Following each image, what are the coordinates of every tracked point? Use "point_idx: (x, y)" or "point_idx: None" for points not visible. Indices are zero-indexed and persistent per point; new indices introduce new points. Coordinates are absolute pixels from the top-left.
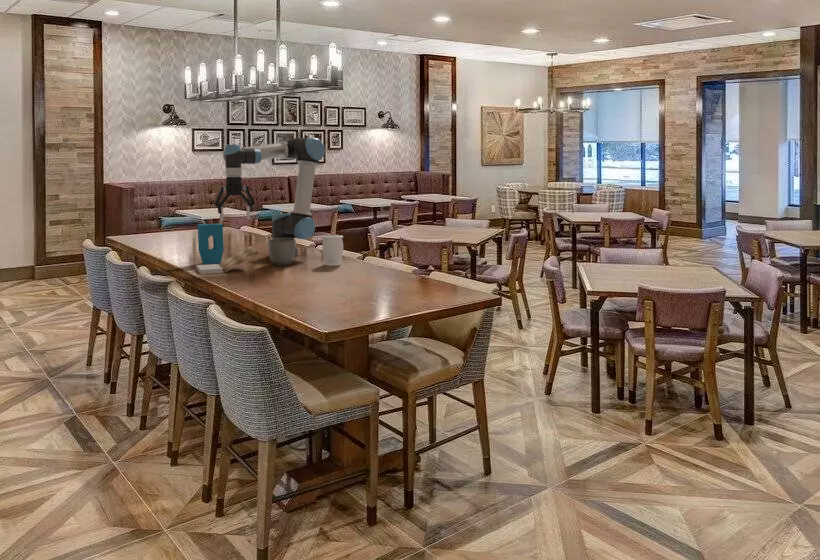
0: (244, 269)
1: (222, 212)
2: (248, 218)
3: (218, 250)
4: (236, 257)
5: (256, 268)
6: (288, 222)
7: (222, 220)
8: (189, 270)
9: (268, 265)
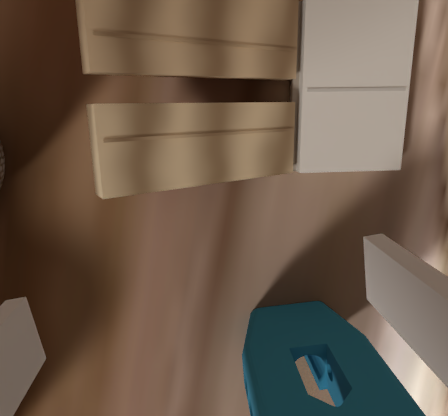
0: (173, 77)
1: (435, 281)
2: (24, 311)
3: (272, 344)
4: (212, 103)
5: (106, 88)
6: None
7: (375, 235)
8: (426, 147)
9: (31, 169)
